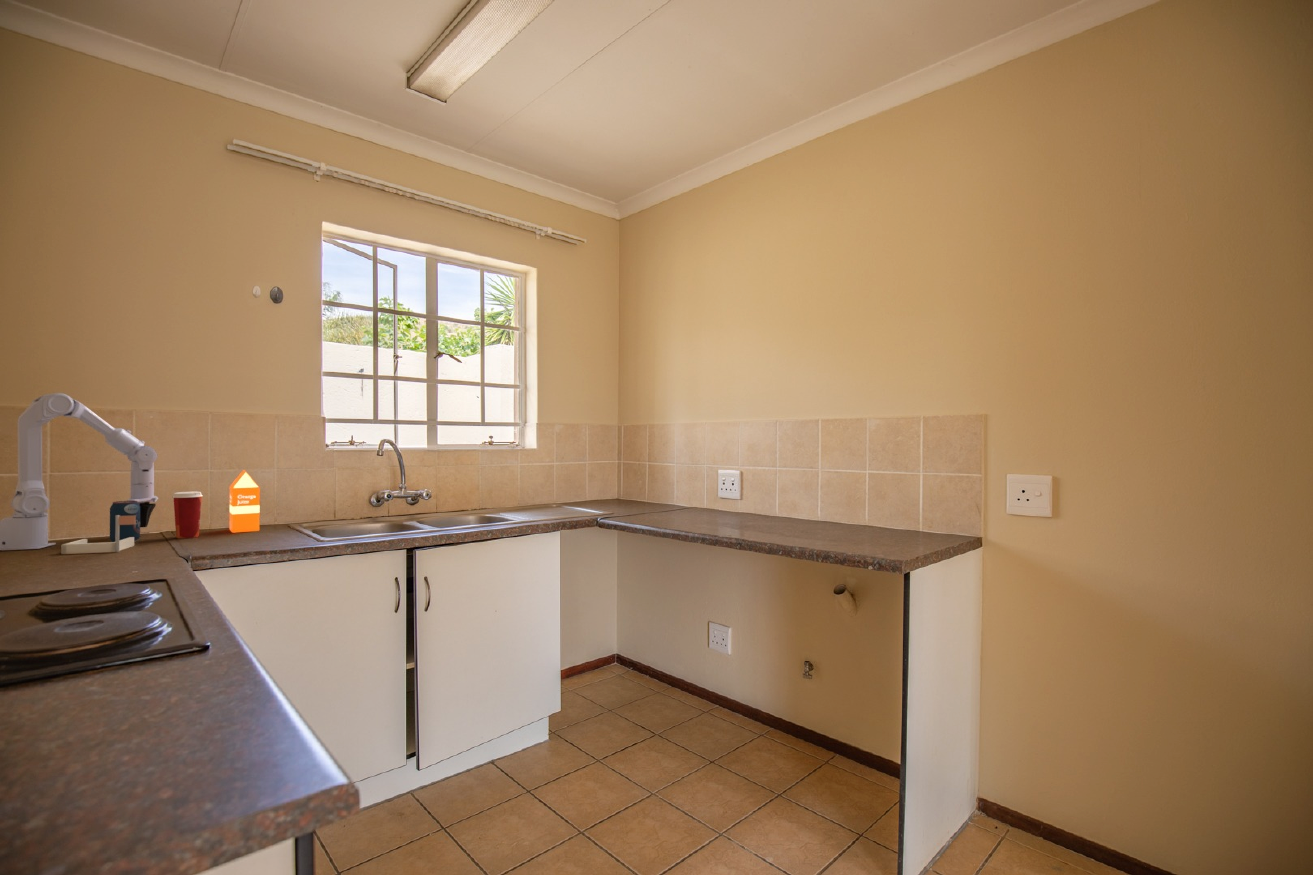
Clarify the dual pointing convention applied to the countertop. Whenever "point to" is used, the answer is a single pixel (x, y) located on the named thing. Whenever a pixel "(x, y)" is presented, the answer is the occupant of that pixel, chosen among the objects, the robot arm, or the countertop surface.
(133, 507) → the soda can
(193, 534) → the paper cup
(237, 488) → the orange juice
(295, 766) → the countertop surface
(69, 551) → the shallow cream tray
